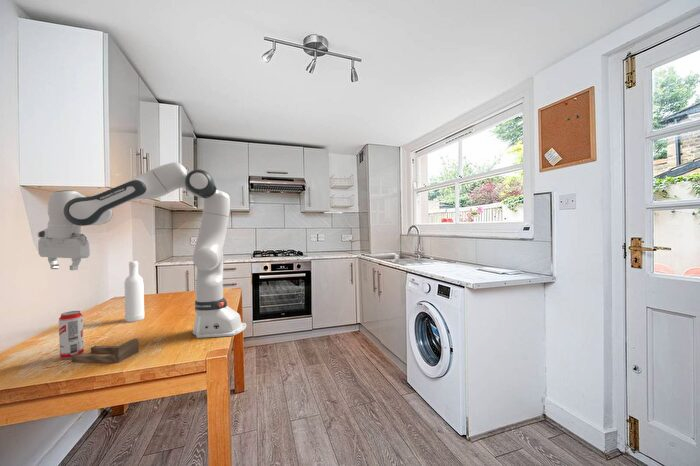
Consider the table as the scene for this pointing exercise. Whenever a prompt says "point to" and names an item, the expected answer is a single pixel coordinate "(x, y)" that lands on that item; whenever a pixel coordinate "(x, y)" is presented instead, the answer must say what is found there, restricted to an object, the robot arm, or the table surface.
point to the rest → (120, 352)
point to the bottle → (134, 294)
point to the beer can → (71, 334)
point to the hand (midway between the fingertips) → (64, 269)
